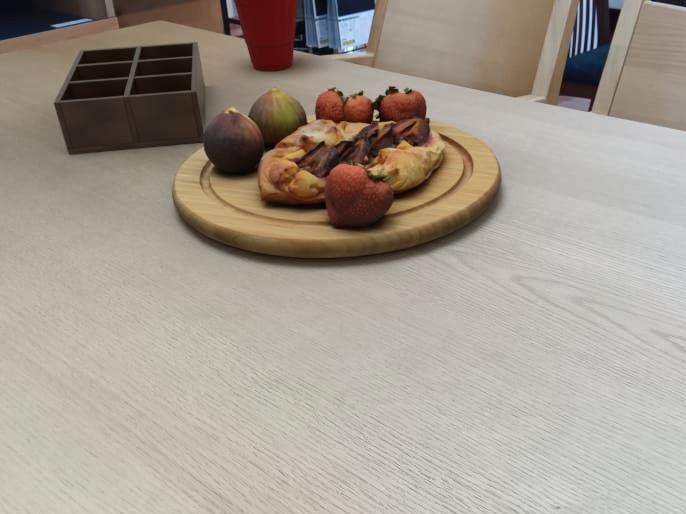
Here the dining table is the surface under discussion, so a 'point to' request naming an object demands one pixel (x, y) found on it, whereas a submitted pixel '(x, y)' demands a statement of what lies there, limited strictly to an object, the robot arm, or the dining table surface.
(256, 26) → the plastic cup
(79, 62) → the rack
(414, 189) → the wooden plate
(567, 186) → the dining table surface
